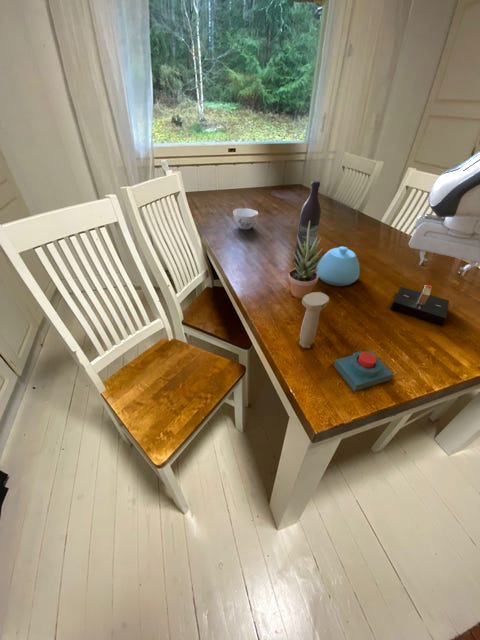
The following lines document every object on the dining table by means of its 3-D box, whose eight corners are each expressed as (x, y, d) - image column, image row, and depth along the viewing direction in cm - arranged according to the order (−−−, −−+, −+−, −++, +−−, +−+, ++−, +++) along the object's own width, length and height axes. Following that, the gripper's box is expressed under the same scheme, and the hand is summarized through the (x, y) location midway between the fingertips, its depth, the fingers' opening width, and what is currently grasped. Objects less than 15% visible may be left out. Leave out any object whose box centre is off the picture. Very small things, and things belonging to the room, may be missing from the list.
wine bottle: (291, 265, 108) (302, 182, 89) (296, 257, 113) (308, 178, 94) (308, 268, 106) (324, 184, 87) (312, 261, 111) (328, 180, 92)
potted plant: (291, 283, 97) (302, 212, 82) (317, 290, 94) (334, 217, 78) (281, 297, 90) (291, 222, 75) (309, 305, 87) (325, 228, 71)
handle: (320, 345, 72) (333, 299, 63) (302, 355, 70) (313, 308, 60) (307, 335, 76) (318, 289, 66) (290, 344, 73) (298, 297, 63)
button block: (367, 356, 70) (372, 345, 67) (390, 380, 64) (396, 368, 61) (333, 365, 67) (337, 354, 64) (354, 391, 61) (359, 380, 59)
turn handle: (423, 306, 82) (429, 294, 79) (416, 304, 82) (423, 292, 80) (426, 297, 86) (432, 285, 83) (419, 295, 86) (425, 284, 84)
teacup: (253, 233, 133) (254, 217, 128) (229, 230, 136) (229, 214, 131) (261, 223, 145) (262, 207, 140) (239, 220, 148) (239, 205, 142)
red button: (366, 355, 65) (369, 350, 64) (377, 366, 62) (379, 361, 61) (354, 359, 64) (356, 353, 63) (364, 370, 61) (366, 365, 60)
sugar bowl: (330, 264, 109) (336, 235, 102) (364, 278, 100) (374, 248, 93) (307, 276, 101) (312, 246, 94) (342, 292, 93) (351, 261, 85)
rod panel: (444, 308, 86) (449, 300, 84) (441, 326, 79) (446, 317, 77) (397, 293, 93) (400, 286, 91) (390, 309, 86) (393, 301, 84)
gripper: (417, 215, 71) (398, 263, 80) (517, 232, 62) (483, 285, 70) (421, 209, 75) (402, 256, 84) (515, 224, 66) (483, 275, 74)
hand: (440, 269), depth 77 cm, fingers open, 8 cm apart
